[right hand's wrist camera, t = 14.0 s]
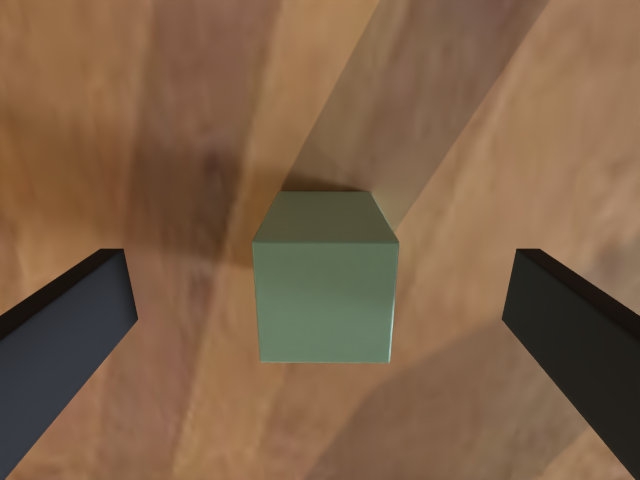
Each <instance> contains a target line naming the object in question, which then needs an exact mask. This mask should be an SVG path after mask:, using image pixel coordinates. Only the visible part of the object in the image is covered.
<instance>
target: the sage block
mask: <svg viewBox="0 0 640 480" xmlns="http://www.w3.org/2000/svg"><path fill="white" fill-rule="evenodd" d="M252 252H253V267H254V281H255V296H256V310H257V325H258V339H259V354H260V361H261V362H317V363H389V361H390V353H391V340H392V328H393V315H394V303H395V291H396V278H397V266H398V253H399V241H398V239H397V237H396V236H395V234H394V232H393V230H392V229H391V227H390V225H389V223H388V222H387V220H386V218H385V216H384V215H383V213H382V211H381V209H380V207H379V206H378V204H377V202H376V200H375V199H374V197H373V195H372V193H371V192H341V191H279V192H278V194H277V195H276V197H275V199H274V201H273V203H272V205H271V207H270V209H269V211H268V213H267V214H266V216H265V218H264V220H263V222H262V224H261V226H260V228H259V230H258V231H257V233H256V235H255V237H254V239H253V241H252Z"/></svg>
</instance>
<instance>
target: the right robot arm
mask: <svg viewBox="0 0 640 480" xmlns="http://www.w3.org/2000/svg"><path fill="white" fill-rule="evenodd" d="M137 320H138V316H137V311H136V306H135V301H134V297H133V292H132V287H131V282H130V278H129V273H128V268H127V263H126V259H125V254H124V249H99V250H98V251H96V252H95V253H93V254H92V255H90V256H89V257H87V258H86V259H84V260H83V261H81V262H80V263H78V264H77V265H75V266H74V267H72V268H71V269H69V270H68V271H67V272H65V273H64V274H62V275H61V276H59V277H58V278H56V279H55V280H53V281H52V282H50V283H49V284H47V285H46V286H44V287H43V288H41V289H40V290H38V291H37V292H35V293H34V294H32V295H31V296H29V297H28V298H26V299H25V300H23V301H22V302H20V303H19V304H17V305H16V306H14V307H13V308H11V309H10V310H8V311H7V312H5V313H4V314H2V315H1V316H0V480H5V479H6V477H7V476H8V475H9V474H10V473H11V471H12V470H13V469H14V468H15V467H16V465H17V464H18V463H19V462H20V461H21V459H22V458H23V457H24V456H25V455H26V453H27V452H28V451H29V450H30V449H31V447H32V446H33V445H34V444H35V443H36V441H37V440H38V439H39V438H40V437H41V435H42V434H43V433H44V432H45V431H46V429H47V428H48V427H49V426H50V425H51V423H52V422H53V421H54V420H55V419H56V417H57V416H58V415H59V414H60V413H61V411H62V410H63V409H64V408H65V407H66V405H67V404H68V403H69V402H70V401H71V399H72V398H73V397H74V396H75V395H76V393H77V392H78V391H79V390H80V389H81V387H82V386H83V385H84V384H85V383H86V381H87V380H88V379H89V378H90V377H91V375H92V374H93V373H94V372H95V371H96V369H97V368H98V367H99V366H100V365H101V363H102V362H103V361H104V360H105V359H106V357H107V356H108V355H109V354H110V353H111V351H112V350H113V349H114V348H115V347H116V345H117V344H118V343H119V342H120V341H121V339H122V338H123V337H124V336H125V335H126V333H127V332H128V331H129V330H130V329H131V327H132V326H133V325H134V324H135V323H136V321H137ZM502 320H503V321H504V323H505V324H506V325H507V326H508V327H509V329H510V330H511V331H512V332H513V333H514V335H515V336H516V337H517V338H518V339H519V341H520V342H521V343H522V344H523V345H524V347H525V348H526V349H527V350H528V351H529V353H530V354H531V355H532V356H533V357H534V359H535V360H536V361H537V362H538V363H539V365H540V366H541V367H542V368H543V369H544V371H545V372H546V373H547V374H548V375H549V377H550V378H551V379H552V380H553V381H554V383H555V384H556V385H557V386H558V387H559V389H560V390H561V391H562V392H563V393H564V395H565V396H566V397H567V398H568V399H569V401H570V402H571V403H572V404H573V405H574V407H575V408H576V409H577V410H578V411H579V413H580V414H581V415H582V416H583V417H584V419H585V420H586V421H587V422H588V423H589V425H590V426H591V427H592V428H593V429H594V431H595V432H596V433H597V434H598V435H599V437H600V438H601V439H602V440H603V441H604V443H605V444H606V445H607V446H608V447H609V449H610V450H611V451H612V452H613V453H614V455H615V456H616V457H617V458H618V459H619V461H620V462H621V463H622V464H623V465H624V467H625V468H626V469H627V470H628V471H629V473H630V474H631V475H632V476H633V477H634V479H635V480H640V316H639V315H638V314H636V313H635V312H633V311H632V310H630V309H629V308H627V307H626V306H624V305H623V304H621V303H620V302H618V301H617V300H615V299H614V298H612V297H611V296H609V295H608V294H606V293H605V292H603V291H602V290H600V289H599V288H597V287H596V286H594V285H593V284H591V283H590V282H588V281H587V280H585V279H584V278H582V277H581V276H579V275H578V274H576V273H575V272H573V271H572V270H571V269H569V268H568V267H566V266H565V265H563V264H562V263H560V262H559V261H557V260H556V259H554V258H553V257H551V256H550V255H548V254H547V253H545V252H544V251H542V250H541V249H516V254H515V259H514V263H513V268H512V273H511V278H510V282H509V287H508V292H507V297H506V301H505V306H504V311H503V316H502Z"/></svg>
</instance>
